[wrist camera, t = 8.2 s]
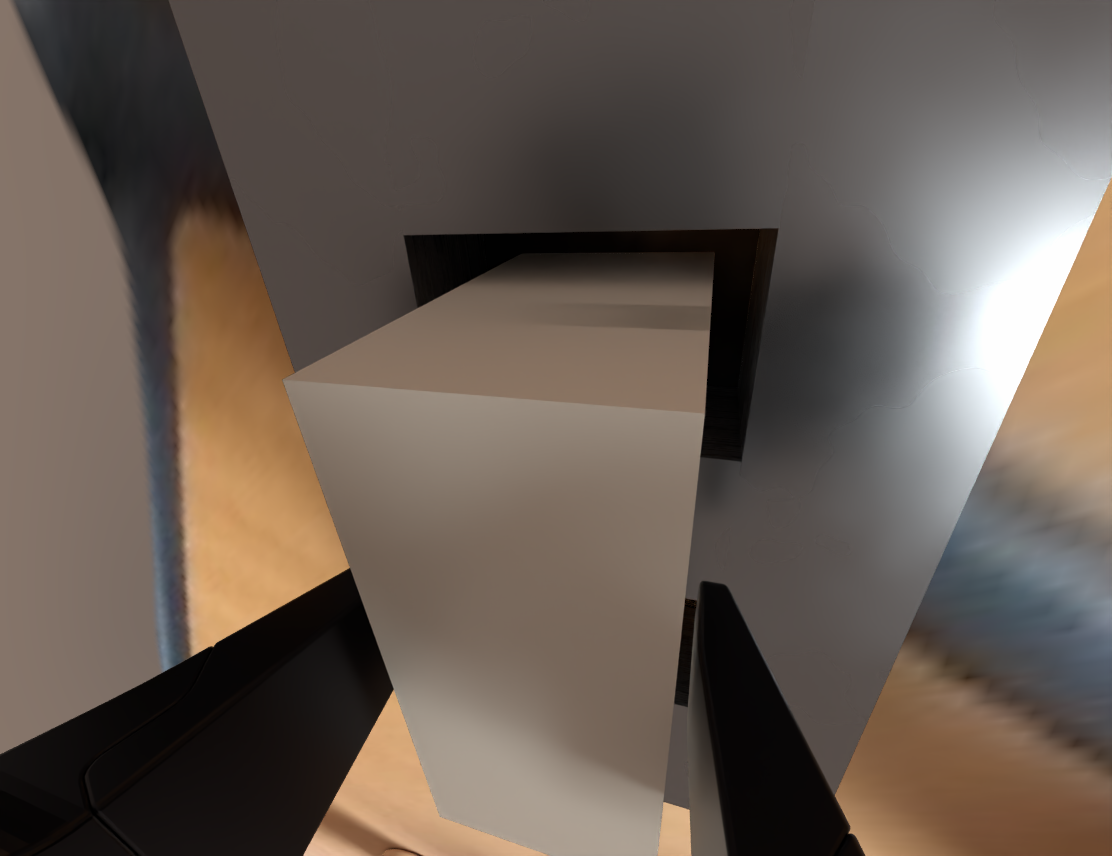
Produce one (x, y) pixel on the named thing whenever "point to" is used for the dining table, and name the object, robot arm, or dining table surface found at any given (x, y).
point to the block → (528, 531)
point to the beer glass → (398, 853)
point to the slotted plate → (701, 204)
